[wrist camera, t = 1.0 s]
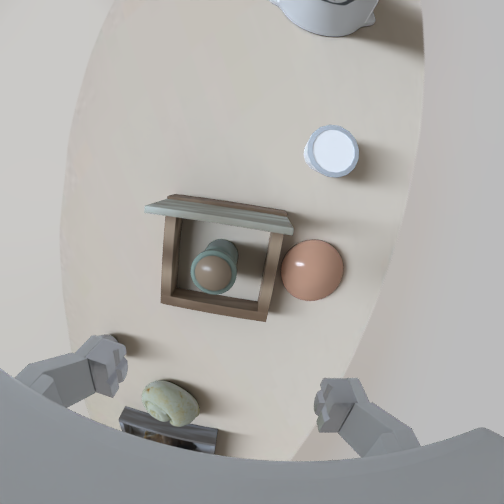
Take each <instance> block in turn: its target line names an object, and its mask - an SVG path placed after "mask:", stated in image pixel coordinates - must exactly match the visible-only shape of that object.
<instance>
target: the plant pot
mask: <svg viewBox="0 0 504 504" xmlns="http://www.w3.org/2000/svg"><path fill="white" fill-rule="evenodd" d="M237 260H238V252H237V249H236V247H235V246H234V245H233V244H232V243H231V242H230V241H227V240H224V239H218V240H215V241H213V242H211V243H210V244H209V245H208V246H207V248H206V249H205V251H203V252H201V253H200V254H199V255H198V256H197V257H196V258H195V260H194V261H193V263H192V266H191V277H192V280H193V282H194V284H195V285H196V286H197V287H198V288H199V289H200V290H201V291H203V292H205V293H208V294H213V295H217V294H222V293H224V292H226V291H228V290H229V289H230V288H231V287H232V286H233V284H234V282H235V280H236V275H237V268H236V264H237Z"/></svg>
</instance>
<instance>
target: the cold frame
mask: <svg viewBox="0 0 504 504" xmlns="http://www.w3.org/2000/svg"><path fill="white" fill-rule="evenodd" d="M144 213H150V214H158V215H165V216H166V217H165V228H164V241H163V257H162V278H161V303H162V304H167V305H172V306H177V307H182V308H187V309H192V310H197V311H202V312H208V313H213V314H219V315H225V316H231V317H237V318H243V319H250V320H256V321H263V322H266V319H267V315H268V310H269V305H270V300H271V296H272V291H273V286H274V281H275V276H276V271H277V266H278V261H279V256H280V251H281V246H282V241H283V236H284V234H286V235H293V230H294V228H293V226H292V225H291V223H290V221H289V220H288V218H287V213H286V211H284V210H278V209H272V208H266V207H260V206H254V205H248V204H242V203H235V202H229V201H222V200H215V199H208V198H201V197H193V196H186V195H178V194H174V195H170V196H168V197H167V199H165V200H162V201H159V202H156V203H152V204H149V205H146V206H145V211H144ZM182 218H185V219H192V220H199V221H206V222H212V223H219V224H225V225H231V226H238V227H244V228H250V229H256V230H262V231H268V232H271V233H270V238H269V244H268V250H267V255H266V260H265V266H264V271H263V277H262V282H261V287H260V293H259V298H258V302H257V301H251V300H244V299H238V298H232V297H226V296H220V295H213V294H208V293H203V292H198V291H192V290H187V289H182V288H177V272H178V258H179V246H180V235H181V224H182Z"/></svg>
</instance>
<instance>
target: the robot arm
mask: <svg viewBox="0 0 504 504" xmlns="http://www.w3.org/2000/svg"><path fill="white" fill-rule="evenodd" d="M269 1H270V2H272V3H273V4H275V5H277V6H278V7H280V8H281V10H282V11H283V12H284V14H285V15H286V16H287V17H288V18H289V19H290V20H291V21H292V22H293V23H295V24H296V25H298V26H299V27H301V28H303V29H305V30H307V31H310V32H312V33H315V34H319V35H324V36H344V35H348V34H351V33H353V32H354V31H356V30H357V29H359V28H360V27H363V26H370V25H373V24H374V22H375V16H374V12H373V10H374V8H375V6H376V5H377V3H378V1H379V0H269ZM125 354H126V347H125V346H124V345H123V344H120V343H117V342H114V341H111V340H108V339H105V338H102V337H99V336H96V335H93V336H91V337H90V338H89V339H88V340H87V341H86V342H85V343H84V344H83V345H82V346H81V347H80V348H79V349H78V350H77V351H76V352H75V354H74V353H68V354H65V355H61V356H58V357H54V358H50V359H47V360H43V361H39V362H35V363H32V364H28V365H27V366H26V367H25V368H24V369H23V370H22V371H21V372H20V373H19V374H18V375H17V376H16V377H15V378H13V377H12V376H10V375H9V374H8V373H6V372H5V371H3V370H2V369H0V504H504V437H502V436H500V435H499V434H497V433H495V432H493V431H491V430H489V429H486V428H477V429H474V430H472V431H469V432H466V433H464V434H461V435H458V436H455V437H452V438H449V439H446V440H443V441H440V442H436V443H432V444H429V445H425V446H420V444H419V442H418V440H417V438H416V436H415V434H414V432H413V430H412V428H410V427H409V426H407V425H406V424H404V423H403V422H401V421H400V420H398V419H396V418H395V417H394V416H392V415H391V414H389V413H387V412H386V411H385V410H383V409H382V408H380V407H379V406H377V405H376V404H374V403H370V402H369V400H368V397H367V395H366V393H365V391H364V389H363V387H362V384H361V382H360V380H359V379H358V378H324V379H323V380H322V382H321V384H320V386H321V390H320V391H318V392H317V394H316V397H315V401H314V411H315V414H316V415H318V416H319V417H318V419H317V425H318V430H319V432H338V434H339V435H340V436H341V437H342V438H343V439H344V440H345V441H346V442H347V443H348V444H349V445H350V446H351V447H352V448H353V449H354V450H355V451H356V452H357V453H358V454H359V455H360V456H361V457H362V458H354V459H343V460H329V461H268V460H254V459H244V458H235V457H227V456H220V455H213V454H208V453H202V452H197V451H192V450H187V449H182V448H178V447H174V446H170V445H166V444H162V443H158V442H154V441H151V440H147V439H144V438H141V437H138V436H134V435H131V434H128V433H125V432H123V431H120V430H117V429H114V428H112V427H109V426H106V425H104V424H101V423H99V422H96V421H94V420H92V419H89V418H87V417H85V416H82V415H80V414H78V413H76V412H73V411H72V410H70V409H67V407H69V406H71V405H73V404H75V403H77V402H79V401H81V400H83V399H85V398H87V397H88V396H90V395H92V394H94V393H95V392H97V393H100V394H103V395H106V396H109V397H112V398H113V397H114V395H115V394H116V392H117V391H118V389H119V384H118V383H120V382H123V381H124V379H125V377H126V374H127V371H128V362H127V360H126V359H125V357H124V356H125Z"/></svg>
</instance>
